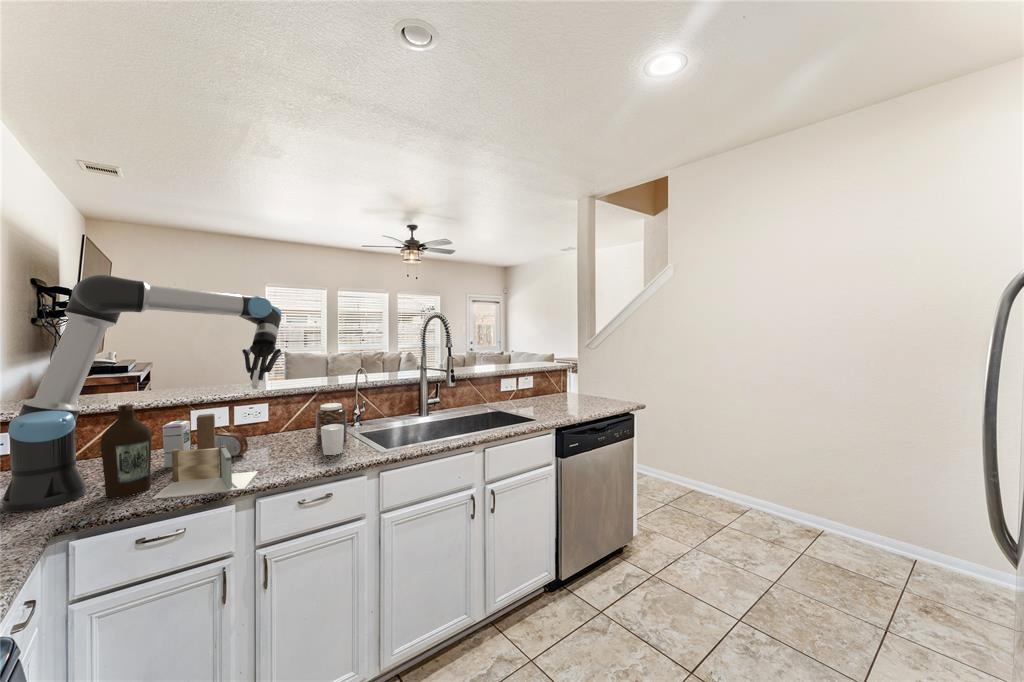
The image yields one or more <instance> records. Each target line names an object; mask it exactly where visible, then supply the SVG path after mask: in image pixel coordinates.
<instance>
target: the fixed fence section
mask: <svg viewBox="0 0 1024 682" xmlns="http://www.w3.org/2000/svg"><path fill="white" fill-rule="evenodd" d="M225 447H226V445H223V446H219V448H212V449H199V450H197V449H191V450H186V451H180V449H174V450H172V467H171V468H172V482H179V481H190V480H200V479H210V478H218V477H219V476H220V477H222V472H221V448H225Z"/></svg>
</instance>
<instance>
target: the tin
mask: <svg viewBox="0 0 1024 682" xmlns="http://www.w3.org/2000/svg"><path fill="white" fill-rule="evenodd" d="M223 445H226V449H227V450H228V452H229V454H230V455H231V456H234V457H233V458H236V457H240V456H243V455H245V454H246V453H247V452H248V449H249V444H248V440H247V438H246V436H244V435H243V434H241V433H240V432H232V431H223V430H222V431H219V432H215V448H219V446H223Z"/></svg>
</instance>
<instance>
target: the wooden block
mask: <svg viewBox="0 0 1024 682" xmlns="http://www.w3.org/2000/svg"><path fill="white" fill-rule="evenodd" d="M215 419H216V418H215V413H204V414H198V415H197V417H196V446H197V448H196V450H199V449H212V448H215V434H216V420H215Z"/></svg>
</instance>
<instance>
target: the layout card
mask: <svg viewBox="0 0 1024 682" xmlns="http://www.w3.org/2000/svg"><path fill="white" fill-rule="evenodd" d="M258 473H259V471H257V470H256V471H255V470H254V471H247V472H235V473H232V488H228V489H227V488H226V486H225V483H224V481H223V479H222V477H220V476H219V477H218V478H210V479H200V480H190V481H179V482H173V481H172V482H170V483H169V484H168V485H166V486H165V487H164V488H163V489H162V490H160V491H159V492H158V493H156V494H155V495H154V496H153V497H151V500H152V499H153V500H158V499H157V498H163V499H169V498H170V497H172V498H179V497H189V496H198V495H200V496H201V495H209V494H218V493H219V494H220V493H225V492H226V493H227V492H236V491H245V490H246V489H247V487H248V486H249V485H250V483H252V481H253V480H254V479H255V477H256V476H257V475H256V474H258ZM168 497H169V498H168ZM170 499H171V498H170Z"/></svg>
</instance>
